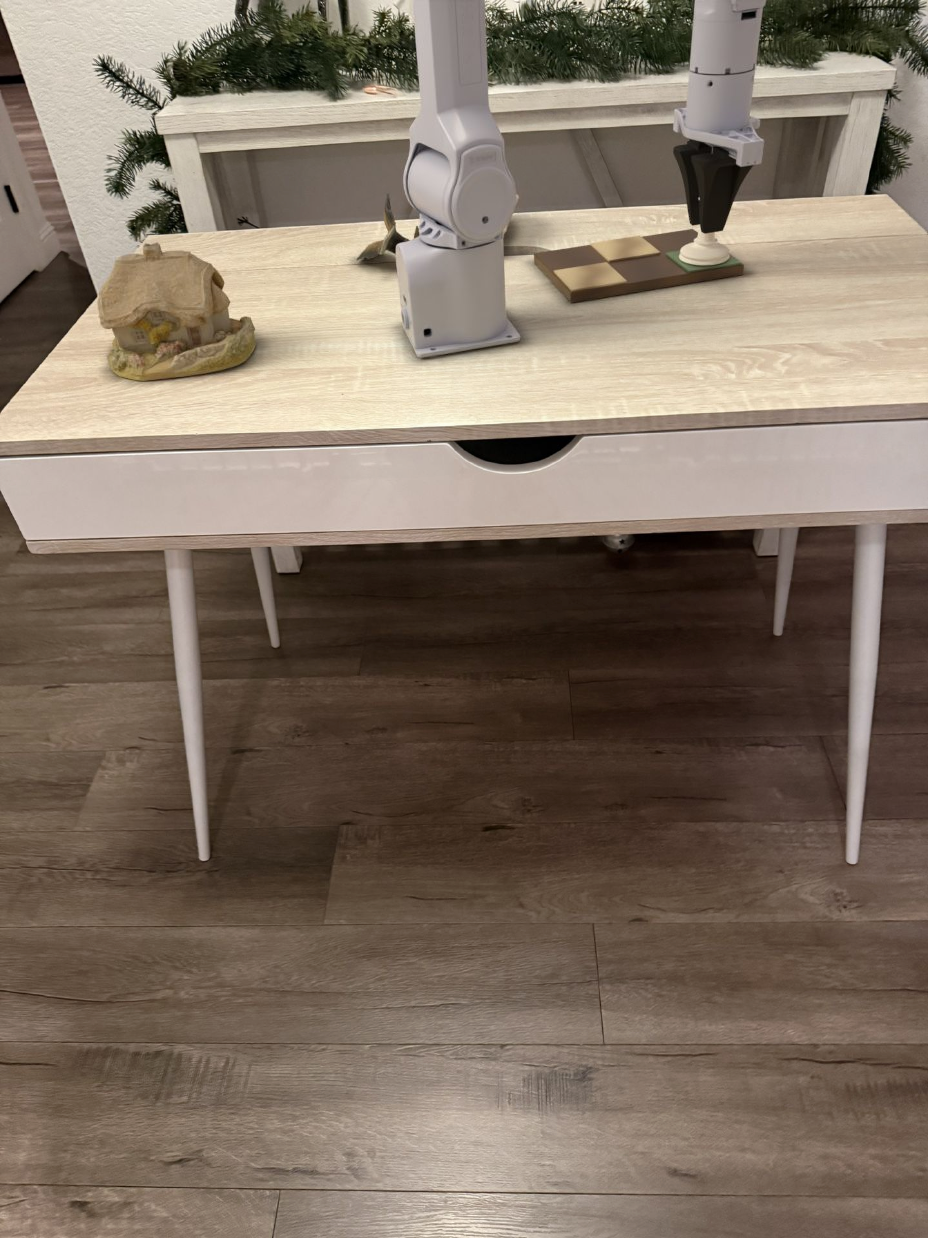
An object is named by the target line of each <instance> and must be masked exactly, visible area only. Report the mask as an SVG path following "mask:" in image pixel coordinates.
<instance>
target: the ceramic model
mask: <svg viewBox="0 0 928 1238" xmlns="http://www.w3.org/2000/svg"><path fill="white" fill-rule="evenodd" d="M224 286H225V280H224V279H223V276H222V275H221V274H220V272H219V270H218V269H216V267H214V266H213V264H212V263H211V262H208V261H206V260H203V259H201V258H199V257H198V256H196V255H195V254H192V253H191V251H190V250H189V251H187V250H186V251H185V250H181V249H180V250H167V251H163V250H162V247H161V244H160V243H159V242H154V243H151V244H150V243H144V244H143V246H142V253H128V254H124V255H120V256H119V257H118V258H117V259H115V260H114V264H113V267H112V270H111V272H110V274H109V276H108V277H107V280H106V281H105V282H104V283H103V285H102V286H101V289H100V290H99V292H98V298H97V302H96V303H97V309H98V313H99V314H98V318H99V321H100V325H101V327H102V328H103V329H105V330H106V329H107V330H112V333H113V335H114V338H113V340H112V341H111V345H112V347H113V348H112V349H109V351H108V354H107V355H106V357H107V358H106V359H107V364H108V366H109V369H110V370H111V371H112V372H113V373H114V374H115V375H116V376H118V377H121V378H125V379H128V380H134V381H140V382H145V381H157V380H163V379H164V380H165V379H172V378H174V379H175V378H180V377H181V378H182V377H189V376H197V375H203V374H208V373H213V372H218V371H224V370H228V369H231V368H233V367H236V366H239V365H240V364H242V363H244V362H246V361H247V360H248V358H250V356H251V355H252V353H253V352H254V351H255V348H256V339H255V330H256V328H255V325H254V323H253V320H252V318H251V317H250V316H247V315H246V316H245V315H244V316H242V317H240V318H239V319H235V318H233V317H232V318H231V317H230V313H229V307H230V304H231V300H230V298H229V296H228V295H227V293H225V291H224V290H223V289H224V288H225V287H224Z"/></svg>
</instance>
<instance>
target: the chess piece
mask: <svg viewBox="0 0 928 1238" xmlns="http://www.w3.org/2000/svg"><path fill="white" fill-rule="evenodd" d="M712 151H713V148H712ZM697 232H698V236H697V238H695V239H694V242H693V243H689V244H687V245H685V246H683V247H682V248H681V250H680V255H679V259H680V260H681V261H683V262H685V263H688V264H692V265H702V266H707V265H716V264H720V263H723V262H725V261H727V260H728V259H729V254H730V249H729V247H728V246H727V245H725V244H724V243H721V242H718V241H719V240H718V238H717V237H716V236H715V233H716V232H713V233H706V234H704V233H702V232H701V228H700V227H699V228H698V231H697Z"/></svg>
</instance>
